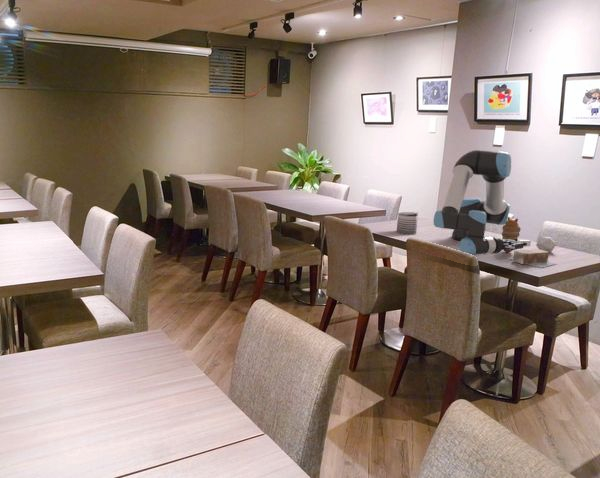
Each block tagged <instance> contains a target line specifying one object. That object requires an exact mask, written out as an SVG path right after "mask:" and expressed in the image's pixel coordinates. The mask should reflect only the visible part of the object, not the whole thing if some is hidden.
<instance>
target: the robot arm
mask: <svg viewBox="0 0 600 478" xmlns="http://www.w3.org/2000/svg"><path fill="white" fill-rule="evenodd" d="M511 171H512V157H511V154H510V153H508V152H506V151H505V152H504V151H495V150H494V151H493V150H479V149H478V150H477V149H475V150H471V151H469V152H467V153H465V154H463V155H462V156H461V157H459V158H458V160H457V161H456V162H455V164H454V166H453V169H452V174H453V176H452V178H451V182H450V185H449V188H448V189H447V190H448V191H447V193H446V197H445V199H444V203H443V205H442V209H441V210H436V211H435V212H434V214H433V215H434V216H433V226H434V227H435V228H439V229H445V230H453V231H452V233H451V239H454V240H456V241H460V242H459V244H458V247H459V251H460V252H461V251H462V252H466V253H469V254H472V255H471V256H475V255H484V256H486V255H487V254H488V255H489V254H499V253H501V252H502V251H504V250H506V249H510V248H511V250H512V251H516V250H522V249H523V248H524V247H531V243H532V240H530V239H520V240H519V239H515V240H513V239H501V238H500V237H499V236H485V233H486V224H491V225H492V224H493V225H499V226H500V225H501V226H504V225H505V224H506V221H507V220H508V217H509V213H510V209H511V204H509V203H507V201H506V200H505V180H506V178H508V177H510V175H511ZM474 175H475V176H482V179H483V180H484V181H485V196H486V197H485V198H486V200H485V201H484V200H483V199H482V197H467V198H465V194H466V192H467V187H468V186H469V182H470V179H472V178H473V176H474ZM462 252H461V253H462Z"/></svg>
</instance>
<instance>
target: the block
mask: <svg viewBox="0 0 600 478" xmlns="http://www.w3.org/2000/svg"><path fill="white" fill-rule="evenodd" d="M549 255H550V253H549V252H547V251H543V250H540V249H539V248H535V249H523V250H522V249H517V250H513V255H512V257H513V261H512V262H515V263H518V264H521V265H528V264H533V263H545V262H547V261H548V262H549V260H548V259H549Z"/></svg>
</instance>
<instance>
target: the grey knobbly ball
mask: <svg viewBox="0 0 600 478" xmlns="http://www.w3.org/2000/svg"><path fill="white" fill-rule="evenodd" d="M535 246H536V247H537V249H540V250H543V251H547V252H549V254H551V253H552V252H553V251H554V249H555V247H556V246H557V243H556V242H555V241H554V239H552V237H551V236H540V237H539V239H538V241H537V242H536V244H535Z"/></svg>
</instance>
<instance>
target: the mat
mask: <svg viewBox="0 0 600 478" xmlns="http://www.w3.org/2000/svg"><path fill="white" fill-rule="evenodd" d="M505 260H510V261H512V262H514V261H513V256H509V257H505ZM527 265H529V266H533V267H536V266H537V268H541V269H544V268H547V267H550V266H555V265H557V263H556V262H551V261H549V260H548V261H547V262H545V263H533V264H527ZM543 267H544V268H543Z"/></svg>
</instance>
